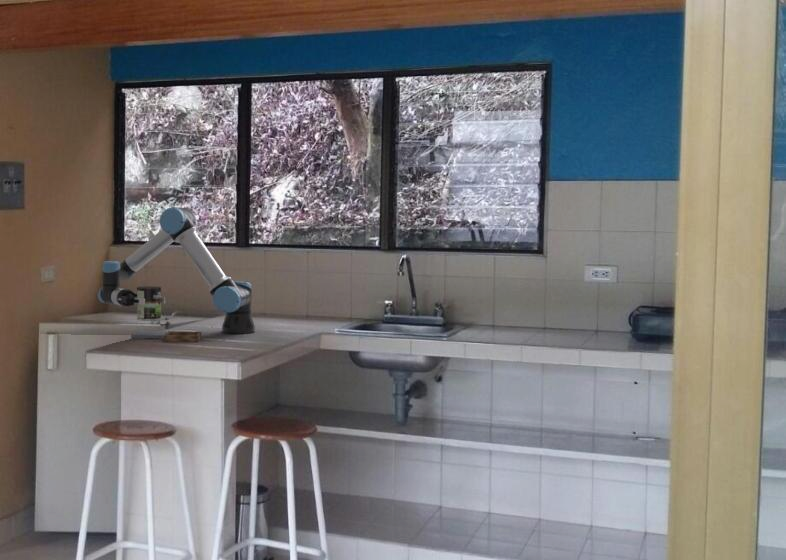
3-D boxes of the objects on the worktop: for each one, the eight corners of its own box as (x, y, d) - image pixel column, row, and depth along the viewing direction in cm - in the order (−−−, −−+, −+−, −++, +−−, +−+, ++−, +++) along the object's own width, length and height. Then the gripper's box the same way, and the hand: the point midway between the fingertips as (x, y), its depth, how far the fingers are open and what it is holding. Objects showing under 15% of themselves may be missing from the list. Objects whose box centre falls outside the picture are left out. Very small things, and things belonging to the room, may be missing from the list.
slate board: (166, 334, 406) (166, 331, 406) (162, 338, 393) (162, 335, 393) (136, 334, 404) (136, 331, 404) (131, 338, 392) (131, 335, 391)
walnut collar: (201, 337, 400) (201, 331, 400) (198, 341, 386) (198, 335, 386) (167, 337, 398) (168, 331, 398) (163, 341, 384) (163, 335, 384)
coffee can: (165, 318, 402) (165, 286, 401) (154, 321, 392) (154, 288, 391) (144, 317, 404) (144, 285, 403) (132, 320, 394) (132, 287, 393)
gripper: (144, 304, 418) (175, 308, 404) (101, 307, 400) (132, 311, 386) (145, 287, 417) (176, 291, 404) (101, 290, 400) (132, 293, 386)
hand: (154, 301), depth 395 cm, fingers closed on coffee can, 10 cm apart
